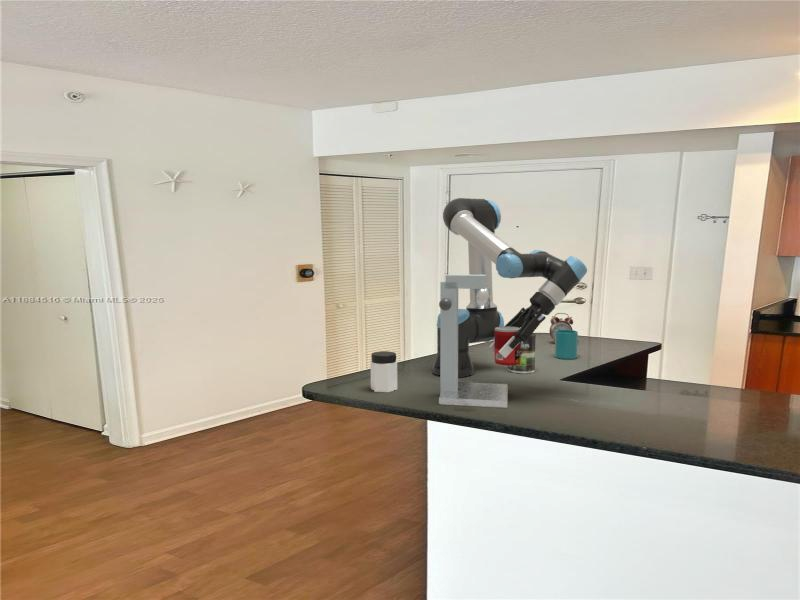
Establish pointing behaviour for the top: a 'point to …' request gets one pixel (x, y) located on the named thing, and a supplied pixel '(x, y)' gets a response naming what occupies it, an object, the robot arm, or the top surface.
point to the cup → (566, 344)
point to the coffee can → (526, 357)
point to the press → (449, 384)
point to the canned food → (500, 340)
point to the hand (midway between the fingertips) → (497, 352)
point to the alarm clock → (560, 324)
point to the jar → (383, 371)
